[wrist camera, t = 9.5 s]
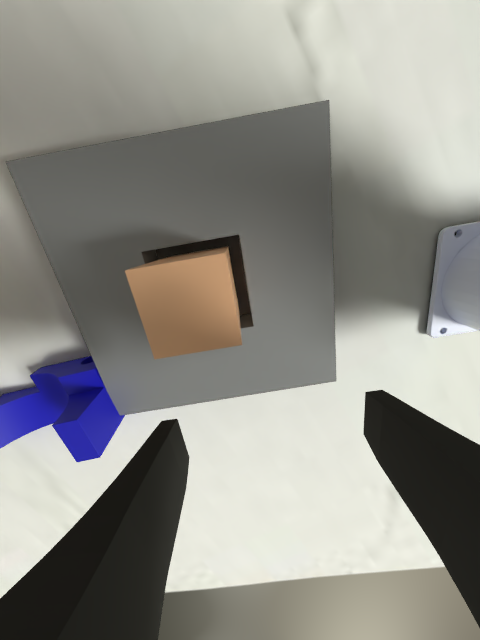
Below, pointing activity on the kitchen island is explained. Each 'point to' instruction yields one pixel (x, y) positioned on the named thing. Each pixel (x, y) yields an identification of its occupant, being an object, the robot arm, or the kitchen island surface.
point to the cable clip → (63, 408)
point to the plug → (187, 302)
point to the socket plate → (188, 227)
